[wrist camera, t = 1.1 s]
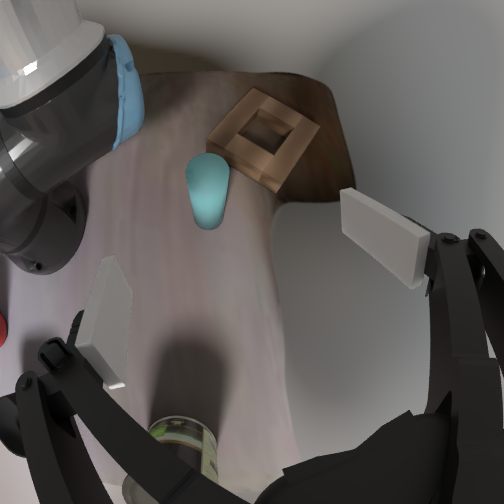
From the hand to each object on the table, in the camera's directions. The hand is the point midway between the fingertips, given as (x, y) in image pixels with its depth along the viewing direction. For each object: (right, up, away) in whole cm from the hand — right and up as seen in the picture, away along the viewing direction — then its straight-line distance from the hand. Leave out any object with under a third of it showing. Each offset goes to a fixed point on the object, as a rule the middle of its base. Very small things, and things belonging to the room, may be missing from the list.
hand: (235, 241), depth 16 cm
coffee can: (-9, -28, +18) cm, 34 cm away
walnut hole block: (+2, +16, +26) cm, 31 cm away
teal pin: (-5, +4, +23) cm, 24 cm away
